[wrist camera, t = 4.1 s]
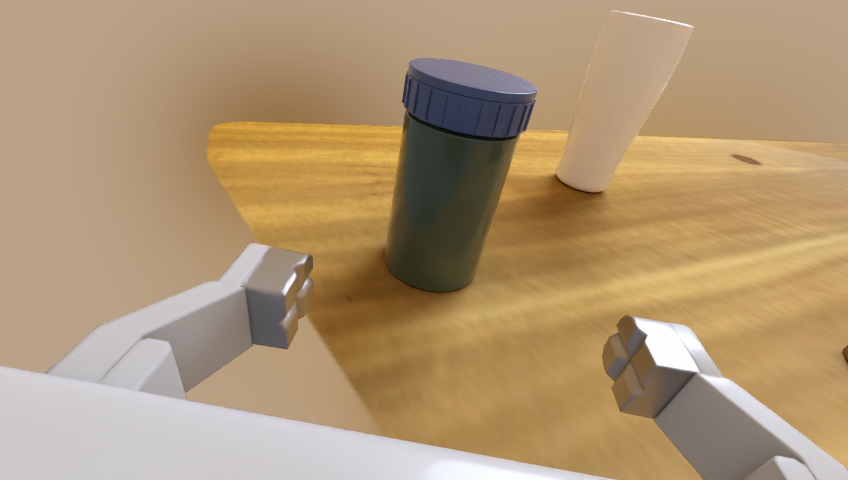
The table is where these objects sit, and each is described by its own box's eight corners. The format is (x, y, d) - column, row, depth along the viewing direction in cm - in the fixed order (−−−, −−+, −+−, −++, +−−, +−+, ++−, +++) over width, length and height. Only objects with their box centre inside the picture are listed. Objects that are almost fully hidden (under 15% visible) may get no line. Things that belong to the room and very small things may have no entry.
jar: (446, 307, 21) (502, 112, 15) (364, 260, 23) (385, 73, 17) (490, 261, 25) (546, 95, 19) (418, 225, 27) (449, 66, 21)
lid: (495, 149, 15) (508, 101, 14) (375, 104, 18) (380, 60, 17) (542, 123, 20) (555, 86, 19) (442, 91, 22) (449, 55, 21)
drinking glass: (538, 179, 38) (602, 7, 30) (557, 163, 43) (616, 12, 35) (605, 205, 36) (695, 25, 28) (617, 185, 41) (696, 28, 33)
